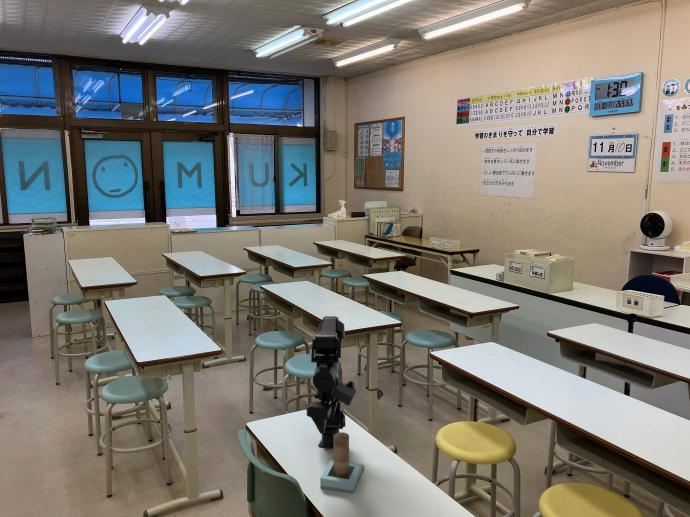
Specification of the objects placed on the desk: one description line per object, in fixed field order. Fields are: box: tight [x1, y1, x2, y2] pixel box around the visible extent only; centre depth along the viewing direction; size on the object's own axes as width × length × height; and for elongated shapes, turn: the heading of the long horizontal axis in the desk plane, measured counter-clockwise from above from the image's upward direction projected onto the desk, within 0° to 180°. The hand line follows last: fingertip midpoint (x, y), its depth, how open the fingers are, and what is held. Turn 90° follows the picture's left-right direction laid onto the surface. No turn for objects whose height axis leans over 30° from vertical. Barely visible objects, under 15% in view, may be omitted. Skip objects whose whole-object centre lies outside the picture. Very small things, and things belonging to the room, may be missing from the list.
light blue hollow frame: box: [319, 459, 365, 494], centre depth 155 cm, size 13×9×3 cm
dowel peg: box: [333, 431, 350, 479], centre depth 152 cm, size 4×4×13 cm
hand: (327, 426), depth 158 cm, fingers open, 9 cm apart
